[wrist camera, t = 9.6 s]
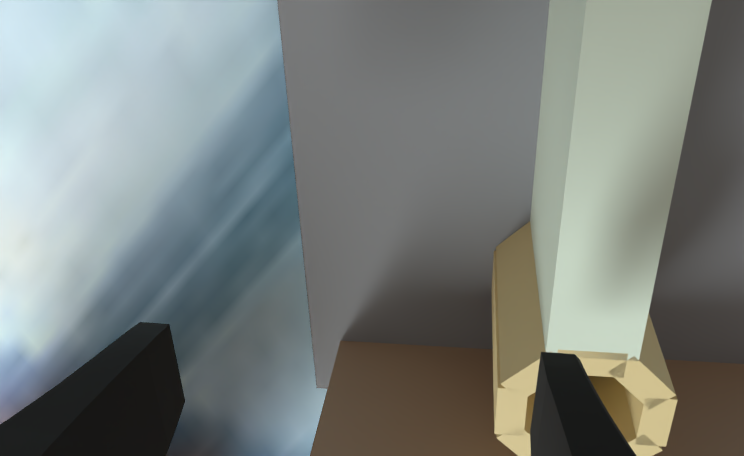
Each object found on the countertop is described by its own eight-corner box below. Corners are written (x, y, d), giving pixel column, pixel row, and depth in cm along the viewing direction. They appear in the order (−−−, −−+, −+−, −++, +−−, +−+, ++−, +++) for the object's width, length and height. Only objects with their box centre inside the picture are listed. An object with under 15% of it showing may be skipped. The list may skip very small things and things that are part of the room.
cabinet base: (780, 398, 24) (877, 591, 18) (322, 369, 26) (275, 533, 20) (1037, -344, 14) (1446, -457, 8) (259, -295, 16) (129, -356, 10)
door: (616, 329, 22) (657, 482, 17) (489, 322, 23) (491, 469, 18) (705, -170, 15) (816, -159, 10) (519, -163, 16) (536, -149, 11)
